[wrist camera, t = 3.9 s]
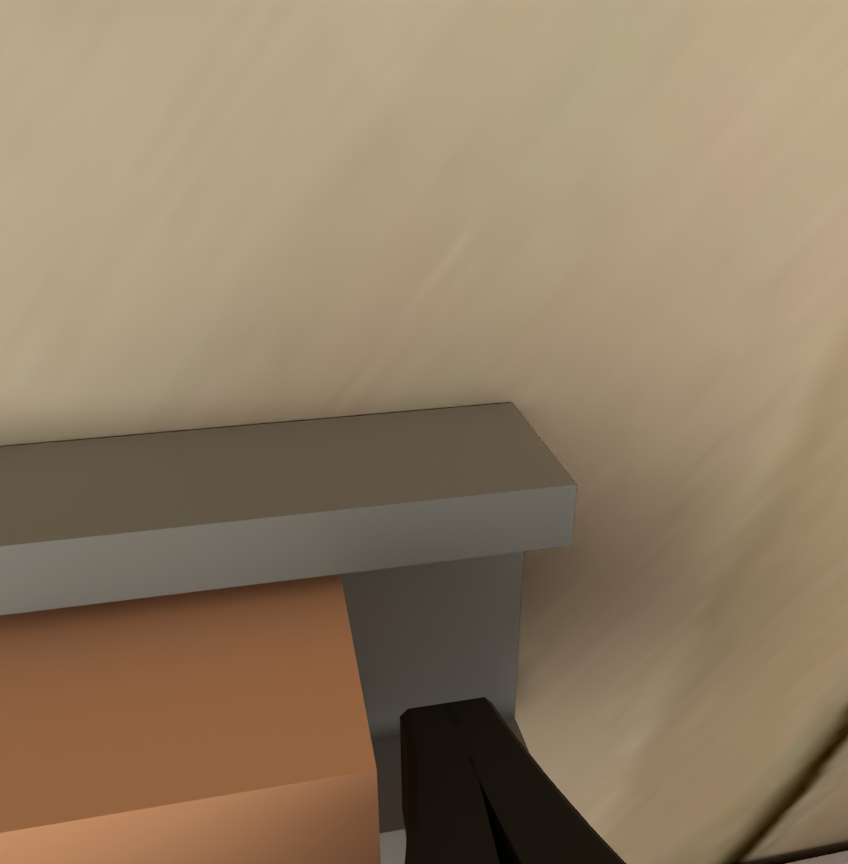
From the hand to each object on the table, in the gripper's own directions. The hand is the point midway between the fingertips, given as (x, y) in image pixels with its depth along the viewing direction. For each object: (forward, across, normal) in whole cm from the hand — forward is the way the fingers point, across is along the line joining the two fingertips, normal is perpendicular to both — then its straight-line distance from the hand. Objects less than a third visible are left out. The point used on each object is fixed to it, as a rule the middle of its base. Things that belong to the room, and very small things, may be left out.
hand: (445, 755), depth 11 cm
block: (+3, +3, 0) cm, 5 cm away
